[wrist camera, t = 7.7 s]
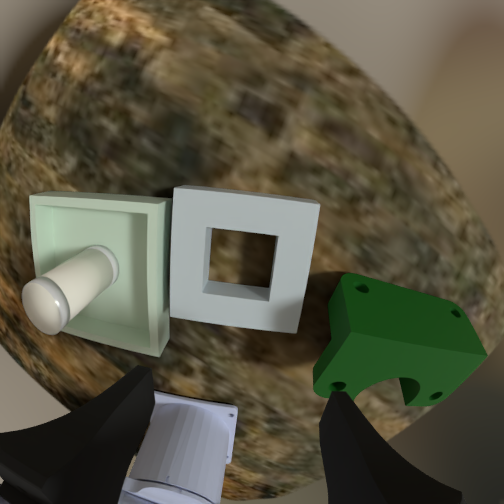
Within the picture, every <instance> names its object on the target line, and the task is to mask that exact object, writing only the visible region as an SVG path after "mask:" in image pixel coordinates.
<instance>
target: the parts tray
mask: <svg viewBox="0 0 504 504" xmlns="http://www.w3.org/2000/svg"><path fill="white" fill-rule="evenodd" d="M171 209H172V198H160V197H148V196H135V195H121V194H105V193H88V192H67V191H48V192H43V193H39V194H34V195H30V223H31V237H32V248H33V258H34V266H35V273H36V278H37V277H40V276H42V275H43V274H45V273H47V272H48V271H50V270H52V269H53V268H55V267H57V266H59V265H60V264H62V263H64V262H65V261H67V260H69V259H71V258H72V257H74V256H76V255H78V254H80V253H81V252H83V251H84V250H85V249H87V248H89V247H91V246H93V245H103V246H105V247H107V248H109V249H110V250H111V251H112V252H113V253H114V255H115V256H116V258H117V260H118V263H119V276H118V279H117V280H116V282H115V283H113V284H112V285H111V286H110V287H109V288H107V289H105V290H104V291H103V292H102V293H101V294H100V295H98V296H97V297H96V298H95V299H94V300H93V301H92V302H90V303H89V304H88V305H87V306H86V307H85V308H84V309H82V310H81V311H80V312H79V313H78V314H77V315H76V316H75V317H74V318H72V319H71V320H70V321H69V322H68V324H67V325H66V326H65V327H64V328H63V329H62V330H61V331H63V332H66V333H69V334H72V335H76V336H79V337H82V338H86V339H89V340H92V341H96V342H100V343H103V344H107V345H111V346H114V347H118V348H122V349H126V350H130V351H135V352H139V353H143V354H148V355H152V356H157V357H160V355H161V353H162V351H163V349H164V347H165V345H166V343H167V342H168V340H169V338H170V335H169V256H170V228H171Z"/></svg>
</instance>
